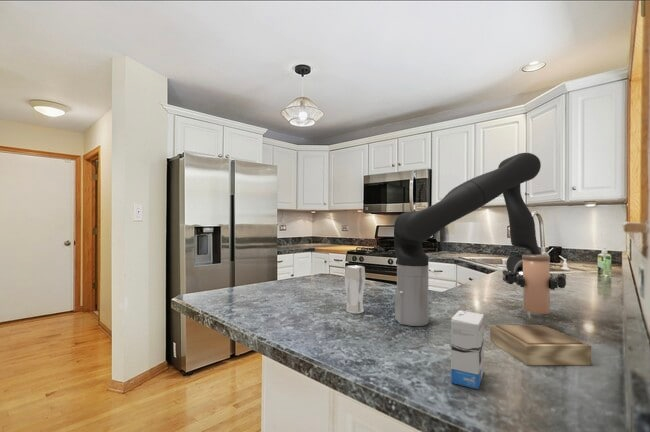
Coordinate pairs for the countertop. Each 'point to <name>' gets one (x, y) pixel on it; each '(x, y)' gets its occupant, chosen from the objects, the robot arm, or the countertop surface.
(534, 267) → the canister
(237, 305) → the countertop surface
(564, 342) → the base block
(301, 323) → the countertop surface
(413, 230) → the robot arm
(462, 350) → the ink box
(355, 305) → the beer glass
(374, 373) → the countertop surface
